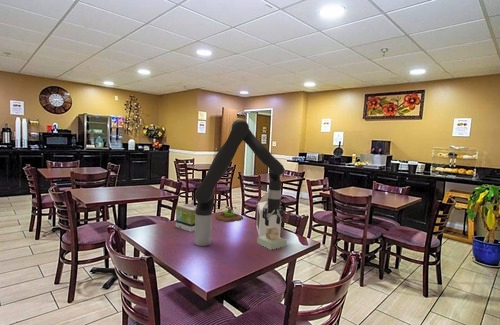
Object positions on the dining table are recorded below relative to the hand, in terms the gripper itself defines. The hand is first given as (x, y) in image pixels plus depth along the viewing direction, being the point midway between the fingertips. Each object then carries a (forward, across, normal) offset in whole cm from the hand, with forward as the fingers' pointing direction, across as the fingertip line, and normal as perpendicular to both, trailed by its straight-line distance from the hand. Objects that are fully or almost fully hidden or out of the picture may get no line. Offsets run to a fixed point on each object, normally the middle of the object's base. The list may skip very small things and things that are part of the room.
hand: (272, 224), depth 168 cm
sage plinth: (+12, 0, 0) cm, 12 cm away
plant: (+13, -8, -59) cm, 61 cm away
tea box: (+13, +29, -51) cm, 60 cm away
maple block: (+8, 0, 0) cm, 8 cm away
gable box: (+12, -13, -19) cm, 26 cm away
